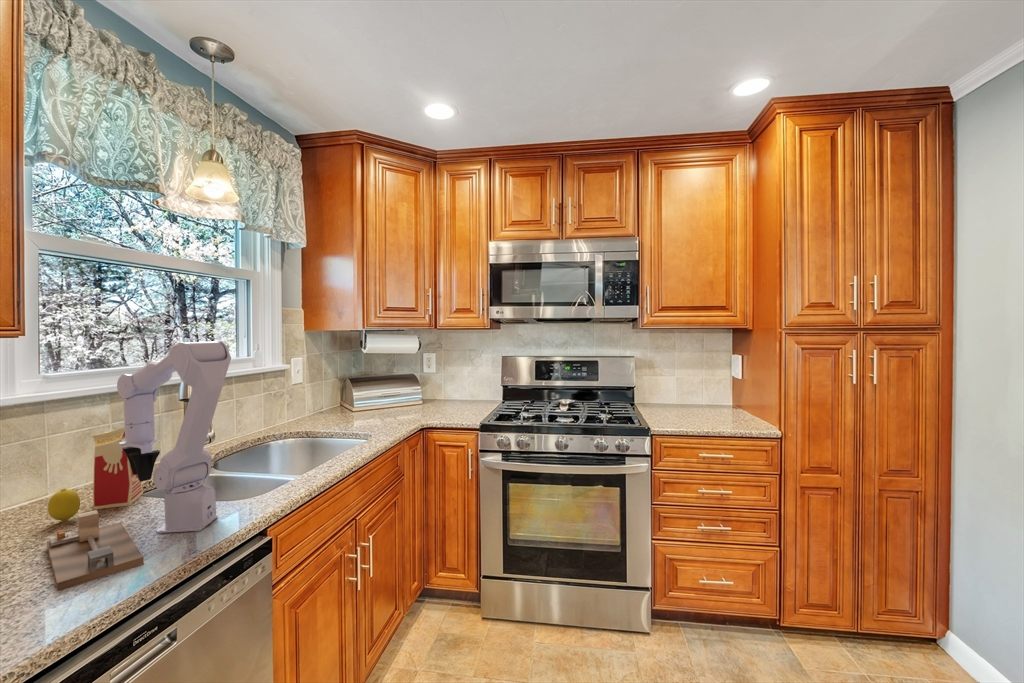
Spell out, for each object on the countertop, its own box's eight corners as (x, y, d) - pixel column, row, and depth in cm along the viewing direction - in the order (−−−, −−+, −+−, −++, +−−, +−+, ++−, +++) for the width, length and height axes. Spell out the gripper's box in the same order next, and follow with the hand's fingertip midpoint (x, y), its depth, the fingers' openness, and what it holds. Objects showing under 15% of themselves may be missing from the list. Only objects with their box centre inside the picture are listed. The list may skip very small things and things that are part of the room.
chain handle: (49, 540, 96) (48, 515, 96) (95, 528, 102) (94, 505, 101) (57, 570, 84) (56, 542, 84) (108, 555, 90) (107, 529, 89)
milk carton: (143, 493, 128) (140, 422, 127) (131, 505, 120) (128, 429, 119) (101, 498, 124) (98, 425, 124) (86, 511, 116) (82, 432, 115)
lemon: (60, 527, 106) (59, 493, 106) (42, 525, 108) (40, 492, 107) (87, 517, 112) (85, 485, 112) (69, 516, 113) (67, 484, 113)
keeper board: (47, 548, 97) (46, 528, 96) (121, 528, 105) (120, 511, 105) (57, 591, 81) (56, 568, 80) (143, 564, 90) (142, 543, 89)
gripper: (113, 421, 114) (115, 474, 115) (124, 429, 105) (126, 488, 105) (148, 416, 120) (150, 468, 120) (162, 424, 110) (164, 480, 111)
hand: (141, 477), depth 113 cm, fingers open, 7 cm apart
